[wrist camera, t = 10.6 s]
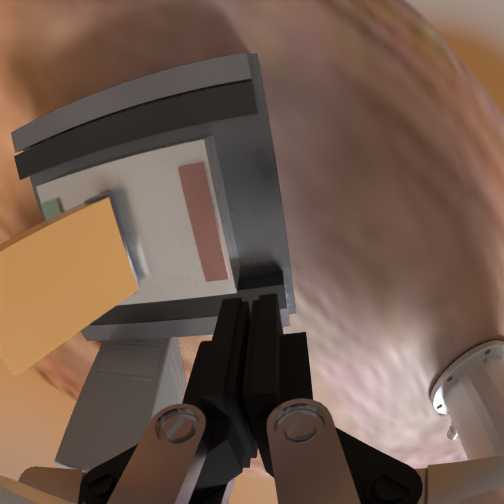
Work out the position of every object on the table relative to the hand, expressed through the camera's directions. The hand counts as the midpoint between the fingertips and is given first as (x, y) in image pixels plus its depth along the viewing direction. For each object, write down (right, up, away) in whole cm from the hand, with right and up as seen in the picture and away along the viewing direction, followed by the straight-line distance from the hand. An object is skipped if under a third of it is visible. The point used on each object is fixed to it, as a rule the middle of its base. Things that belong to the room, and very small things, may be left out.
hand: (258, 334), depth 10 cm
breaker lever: (-7, +3, +6) cm, 9 cm away
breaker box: (-6, +7, +13) cm, 16 cm away
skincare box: (-10, -7, +20) cm, 23 cm away
